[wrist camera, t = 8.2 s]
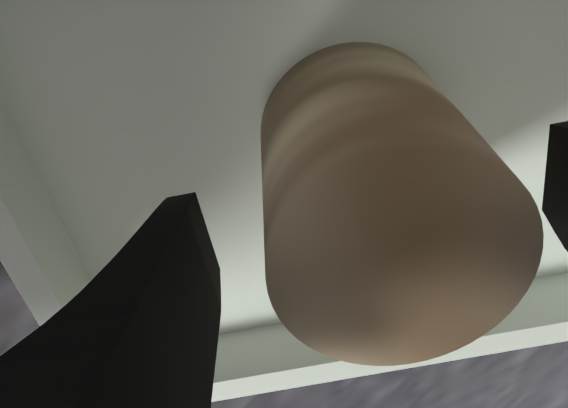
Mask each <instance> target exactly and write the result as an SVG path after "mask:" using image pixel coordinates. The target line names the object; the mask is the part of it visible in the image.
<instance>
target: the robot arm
mask: <svg viewBox="0 0 568 408" xmlns="http://www.w3.org/2000/svg"><path fill="white" fill-rule="evenodd" d="M542 211H543V213H544V215H545V216H546V218H547V220H548V222H549V223H550V225H551V227H552V229H553V230H554V232H555V234H556V235H557V237H558V239H559V240H560V242H561V243H562V245H563V247H564V248H565V249H566V251H567V252H568V121H565V122H559V123H554V124H550V128H549V139H548V149H547V160H546V171H545V181H544V192H543V203H542ZM220 318H221V279H220V267H219V264H218V261H217V258H216V254H215V251H214V248H213V245H212V242H211V239H210V236H209V233H208V230H207V227H206V223H205V220H204V217H203V214H202V211H201V208H200V205H199V202H198V199H197V195H196V192H193V193H188V194H182V195H177V196H172V197H167V198H166V199H165V200H164V201H163V202H162V203H161V204H160V205H159V206H158V207H157V208H156V209H155V210H154V212H153V213H152V214H151V215H150V216H149V217H148V219H147V220H146V221H145V222H144V223H143V225H142V226H141V227H140V228H139V229H138V230H137V232H136V233H135V234H134V235H133V236H132V237H131V238H130V240H129V241H128V242H127V243H126V244H125V245H124V246H123V248H122V249H121V250H120V251H119V252H118V253H117V254H116V255H115V256H114V257H113V258H112V260H111V261H110V262H109V263H108V264H107V265H106V266H105V267H104V268H103V269H102V270H101V271H100V272H99V273H98V274H97V275H96V276H95V277H94V278H93V279H92V280H91V281H90V282H89V283H88V284H87V285H86V286H85V287H84V288H83V289H82V290H81V291H80V292H79V293H78V294H77V295H76V296H75V297H74V298H73V299H72V300H70V301H69V302H68V303H67V304H66V305H65V306H64V307H63V308H61V309H60V310H59V311H58V312H57V313H56V314H54V315H53V316H52V317H51V318H50V319H49V320H47V321H46V322H45V323H44V324H43V325H41V326H40V327H39V328H38V329H36V330H35V331H34V332H32V333H31V334H30V335H28V336H27V337H26V338H24V339H23V340H22V341H20V342H19V343H18V344H16V345H15V346H14V347H12V348H11V349H10V350H8V351H7V352H5V353H4V354H3V355H1V356H0V408H211V399H212V390H213V382H214V373H215V364H216V355H217V346H218V337H219V328H220Z"/></svg>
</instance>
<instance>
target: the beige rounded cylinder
mask: <svg viewBox="0 0 568 408" xmlns="http://www.w3.org/2000/svg"><path fill="white" fill-rule="evenodd" d="M260 139H261V167H262V196H263V224H264V252H265V280H266V286H267V293H268V296H269V299H270V302H271V305H272V307H273V309H274V311H275V313H276V315H277V317H278V318H279V320H280V321H281V322H282V324H283V325H284V326H285V328H286V329H287V330H288V331H289V332H290V333H291V334H292V335H293V336H294V337H295V338H297V339H298V340H299V341H301V342H302V343H303V344H305V345H306V346H308V347H310V348H311V349H313V350H315V351H317V352H319V353H321V354H323V355H326V356H328V357H331V358H333V359H337V360H340V361H344V362H348V363H353V364H359V365H369V366H396V365H405V364H412V363H417V362H422V361H426V360H430V359H433V358H437V357H440V356H443V355H445V354H448V353H451V352H453V351H456V350H458V349H460V348H462V347H464V346H466V345H468V344H470V343H472V342H473V341H475V340H477V339H478V338H480V337H482V336H483V335H485V334H486V333H487V332H489V331H490V330H491V329H493V328H494V327H495V326H497V325H498V324H499V323H500V322H501V321H502V320H503V319H504V318H506V317H507V316H508V315H509V314H510V313H511V312H512V310H513V309H514V308H515V307H516V306H517V305H518V304H519V302H520V301H521V300H522V298H523V297H524V295H525V294H526V292H527V291H528V289H529V287H530V286H531V284H532V282H533V280H534V278H535V276H536V273H537V270H538V267H539V265H540V261H541V256H542V251H543V238H544V233H543V226H542V219H541V216H540V213H539V210H538V207H537V205H536V203H535V201H534V199H533V197H532V195H531V194H530V192H529V191H528V190H527V188H526V187H525V186H524V185H523V183H522V182H521V181H520V180H519V179H518V177H517V176H516V175H515V174H514V173H513V172H512V171H511V169H510V168H509V167H508V166H507V165H506V164H505V163H504V161H503V160H502V159H501V158H500V157H499V156H498V155H497V153H496V152H495V151H494V150H493V149H492V148H491V147H490V145H489V144H488V143H487V142H486V141H485V140H484V139H483V137H482V136H481V135H480V134H479V133H478V132H477V131H476V129H475V128H474V127H473V126H472V125H471V124H470V122H469V121H468V120H467V119H466V118H465V117H464V116H463V114H462V113H461V112H460V111H459V110H458V109H457V108H456V106H455V105H454V104H453V103H452V102H451V101H450V100H449V98H448V97H447V96H446V95H445V94H444V93H443V92H442V90H441V89H440V88H439V87H438V86H437V85H436V84H435V82H434V81H433V80H432V79H431V78H430V77H429V76H428V74H427V73H426V72H425V71H424V70H423V69H422V68H421V67H420V66H419V65H418V64H417V63H416V62H415V61H414V60H413V59H411V58H410V57H408V56H407V55H405V54H404V53H402V52H400V51H398V50H396V49H393V48H391V47H388V46H384V45H381V44H376V43H370V42H349V43H341V44H337V45H333V46H329V47H326V48H324V49H321V50H318V51H316V52H314V53H312V54H310V55H309V56H307V57H305V58H304V59H302V60H301V61H299V62H298V63H297V64H295V65H294V66H293V67H292V68H291V69H290V70H289V71H288V72H286V73H285V74H284V76H283V77H282V78H281V79H280V81H279V82H278V83H277V84H276V86H275V88H274V89H273V91H272V92H271V94H270V96H269V98H268V101H267V103H266V105H265V108H264V112H263V115H262V121H261V134H260Z"/></svg>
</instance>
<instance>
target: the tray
mask: <svg viewBox="0 0 568 408" xmlns="http://www.w3.org/2000/svg"><path fill="white" fill-rule="evenodd" d="M349 42H370V43H376V44H381V45H384V46H388V47H391V48H393V49H396V50H398V51H400V52H402V53H404V54H405V55H407V56H408V57H410V58H411V59H413V60H414V61H415V62H416V63H417V64H418V65H419V66H420V67H421V68H422V69H423V70H424V71H425V72H426V73H427V74H428V76H429V77H430V78H431V79H432V80H433V81H434V82H435V84H436V85H437V86H438V87H439V88H440V89H441V90H442V92H443V93H444V94H445V95H446V96H447V97H448V98H449V100H450V101H451V102H452V103H453V104H454V105H455V106H456V108H457V109H458V110H459V111H460V112H461V113H462V114H463V116H464V117H465V118H466V119H467V120H468V121H469V122H470V124H471V125H472V126H473V127H474V128H475V129H476V131H477V132H478V133H479V134H480V135H481V136H482V137H483V139H484V140H485V141H486V142H487V143H488V144H489V145H490V147H491V148H492V149H493V150H494V151H495V152H496V153H497V155H498V156H499V157H500V158H501V159H502V160H503V161H504V163H505V164H506V165H507V166H508V167H509V168H510V169H511V171H512V172H513V173H514V174H515V175H516V176H517V177H518V179H519V180H520V181H521V182H522V183H523V185H524V186H525V187H526V188H527V190H528V191H529V192H530V194H531V195H532V197H533V199H534V201H535V203H536V205H537V207H538V210H539V213H540V216H541V219H542V226H543V233H544V238H543V251H542V256H541V261H540V265H539V267H538V270H537V273H536V276H535V278H534V280H533V282H532V284H531V286H530V287H529V289H528V291H527V292H526V294H525V295H524V297H523V298H522V300H521V301H520V302H519V304H518V305H517V306H516V307H515V308H514V309H513V310H512V312H511V313H510V314H509V315H508V316H507V317H506V318H504V319H503V320H502V321H501V322H500V323H499V324H498V325H497V326H495V327H494V328H493V329H491V330H490V331H489V332H487V333H486V334H485V335H483V336H482V337H480V338H478V339H477V340H475V341H473V342H472V343H470V344H468V345H466V346H464V347H462V348H460V349H458V350H456V351H453V352H451V353H448V354H445V355H443V356H440V357H437V358H433V359H430V360H426V361H422V362H417V363H412V364H405V365H396V366H369V365H359V364H353V363H348V362H344V361H340V360H337V359H333V358H331V357H328V356H326V355H323V354H321V353H319V352H317V351H315V350H313V349H311V348H310V347H308V346H306V345H305V344H303V343H302V342H301V341H299V340H298V339H297V338H295V337H294V336H293V335H292V334H291V333H290V332H289V331H288V330H287V329H286V328H285V326H284V325H283V324H282V322H281V321H280V320H279V318H278V317H277V315H276V313H275V311H274V309H273V307H272V305H271V302H270V299H269V296H268V293H267V286H266V280H265V252H264V224H263V196H262V167H261V139H260V134H261V121H262V115H263V112H264V108H265V105H266V103H267V101H268V98H269V96H270V94H271V92H272V91H273V89H274V88H275V86H276V84H277V83H278V82H279V81H280V79H281V78H282V77H283V76H284V74H285V73H286V72H288V71H289V70H290V69H291V68H292V67H293V66H294V65H295V64H297V63H298V62H299V61H301V60H302V59H304V58H305V57H307V56H309V55H310V54H312V53H314V52H316V51H318V50H321V49H324V48H326V47H329V46H333V45H337V44H341V43H349ZM565 121H568V0H0V262H1V263H2V265H3V267H4V268H5V270H6V271H7V273H8V275H9V276H10V278H11V280H12V281H13V283H14V285H15V286H16V288H17V290H18V291H19V293H20V295H21V296H22V298H23V300H24V301H25V303H26V305H27V306H28V308H29V309H30V311H31V313H32V314H33V316H34V318H35V319H36V321H37V323H38V324H39V326H41V325H43V324H44V323H45V322H46V321H47V320H49V319H50V318H51V317H52V316H53V315H54V314H56V313H57V312H58V311H59V310H60V309H61V308H63V307H64V306H65V305H66V304H67V303H68V302H69V301H70V300H72V299H73V298H74V297H75V296H76V295H77V294H78V293H79V292H80V291H81V290H82V289H83V288H84V287H85V286H86V285H87V284H88V283H89V282H90V281H91V280H92V279H93V278H94V277H95V276H96V275H97V274H98V273H99V272H100V271H101V270H102V269H103V268H104V267H105V266H106V265H107V264H108V263H109V262H110V261H111V260H112V258H113V257H114V256H115V255H116V254H117V253H118V252H119V251H120V250H121V249H122V248H123V246H124V245H125V244H126V243H127V242H128V241H129V240H130V238H131V237H132V236H133V235H134V234H135V233H136V232H137V230H138V229H139V228H140V227H141V226H142V225H143V223H144V222H145V221H146V220H147V219H148V217H149V216H150V215H151V214H152V213H153V212H154V210H155V209H156V208H157V207H158V206H159V205H160V204H161V203H162V202H163V201H164V200H165V199H166V198H167V197H172V196H177V195H182V194H188V193H193V192H196V195H197V199H198V202H199V205H200V208H201V211H202V214H203V217H204V220H205V223H206V227H207V230H208V233H209V236H210V239H211V242H212V245H213V248H214V251H215V254H216V258H217V261H218V264H219V267H220V279H221V318H220V328H219V337H218V346H217V355H216V364H215V373H214V382H213V390H212V399H211V402H214V401H220V400H226V399H232V398H238V397H243V396H249V395H255V394H261V393H267V392H273V391H278V390H284V389H290V388H296V387H302V386H308V385H313V384H319V383H325V382H331V381H337V380H343V379H348V378H354V377H360V376H366V375H372V374H378V373H383V372H389V371H395V370H401V369H407V368H413V367H418V366H424V365H430V364H436V363H442V362H447V361H453V360H459V359H465V358H471V357H477V356H482V355H488V354H494V353H500V352H506V351H512V350H517V349H523V348H529V347H535V346H541V345H547V344H552V343H558V342H564V341H568V252H567V251H566V249H565V248H564V247H563V245H562V243H561V242H560V240H559V239H558V237H557V235H556V234H555V232H554V230H553V229H552V227H551V225H550V223H549V222H548V220H547V218H546V216H545V215H544V213H543V211H542V203H543V192H544V181H545V171H546V160H547V149H548V139H549V128H550V124H554V123H559V122H565Z"/></svg>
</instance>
